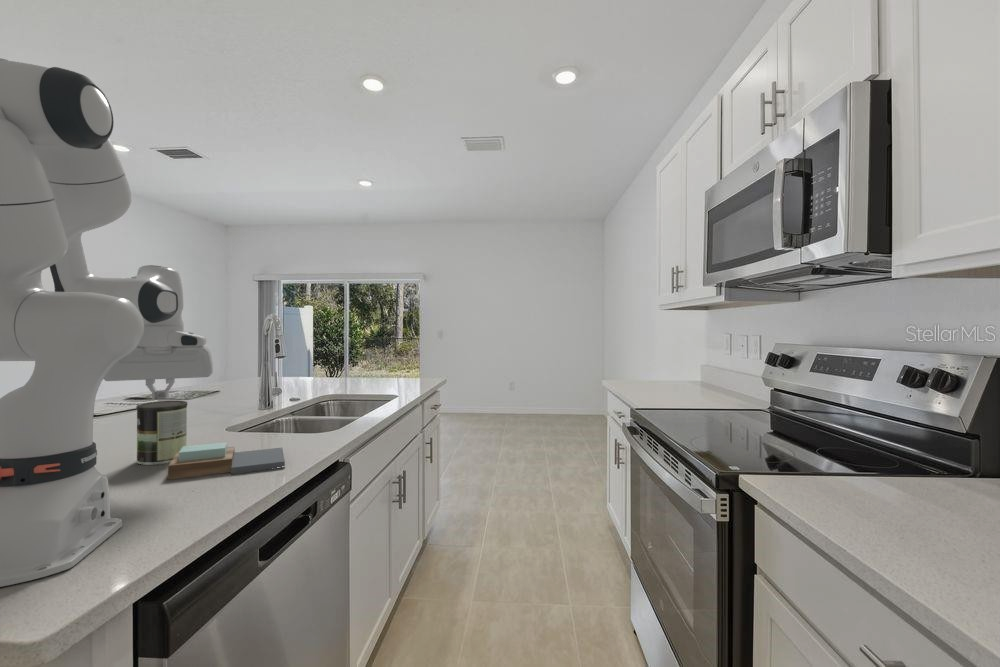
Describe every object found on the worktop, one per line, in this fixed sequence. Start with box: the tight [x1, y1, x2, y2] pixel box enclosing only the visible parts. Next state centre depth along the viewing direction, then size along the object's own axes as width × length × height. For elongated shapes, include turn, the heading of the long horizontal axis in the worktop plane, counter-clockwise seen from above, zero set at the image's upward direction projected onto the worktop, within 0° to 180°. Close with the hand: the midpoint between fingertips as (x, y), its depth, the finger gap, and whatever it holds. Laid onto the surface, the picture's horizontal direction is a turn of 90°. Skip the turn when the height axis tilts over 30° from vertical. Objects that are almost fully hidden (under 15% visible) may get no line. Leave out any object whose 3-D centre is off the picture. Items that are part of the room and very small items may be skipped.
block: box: [179, 441, 228, 461], centre depth 106 cm, size 6×9×2 cm, turn 118°
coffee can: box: [135, 400, 188, 466], centre depth 113 cm, size 10×10×14 cm
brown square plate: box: [167, 446, 236, 480], centre depth 106 cm, size 12×12×3 cm
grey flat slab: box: [230, 447, 286, 475], centre depth 111 cm, size 14×11×2 cm
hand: (160, 398), depth 102 cm, fingers closed
